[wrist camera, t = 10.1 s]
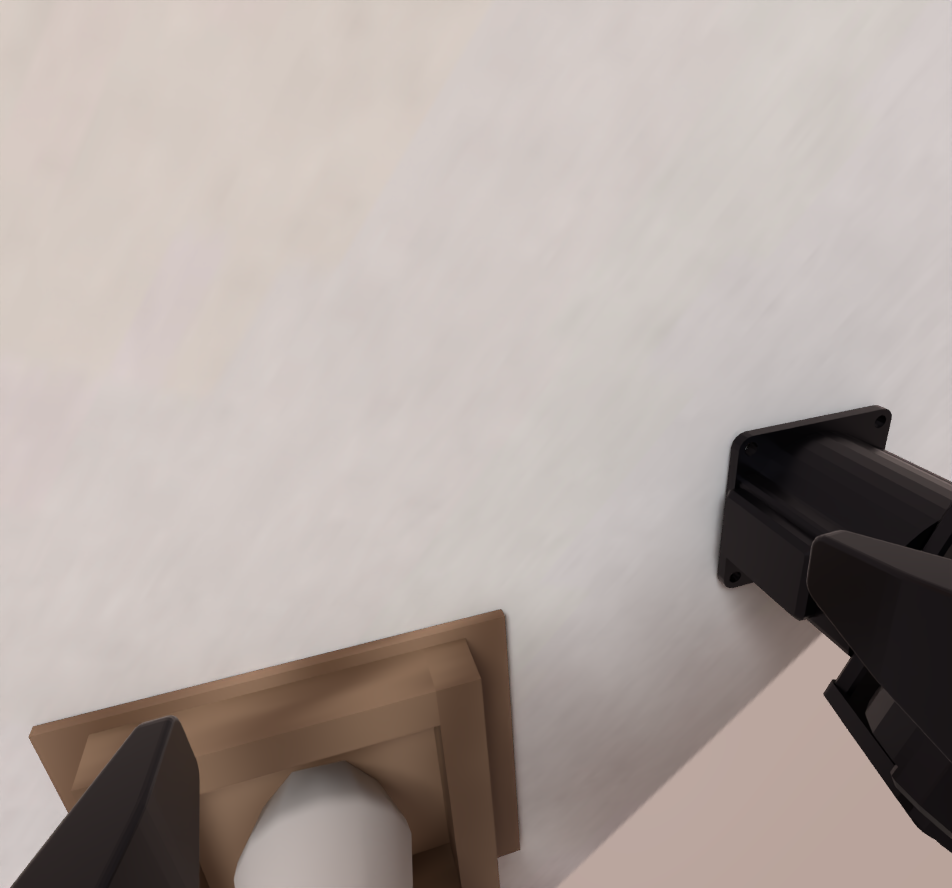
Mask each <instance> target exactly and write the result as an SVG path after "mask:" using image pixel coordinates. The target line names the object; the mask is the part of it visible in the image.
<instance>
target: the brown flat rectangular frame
mask: <svg viewBox="0 0 952 888" xmlns="http://www.w3.org/2000/svg"><path fill="white" fill-rule="evenodd" d="M168 715H172V716H176V717H177V718H178V719H179V721H180V722H181V724H182V727H183V729H184V731H185V734H186V736H187V738H188V741H189V743H190V745H191V748H192V750H193V753H194V755H195V757H196V760H197V763H198V768H199V776H200V819H199V888H235V885H234V876H235V872H236V867H237V863H238V860H239V858H240V856H241V854H242V852H243V850H244V848H245V845H246V843H247V841H248V839H249V837H250V835H251V833H252V831H253V828H254V826H255V824H256V822H257V820H258V818H259V816H260V813H261V811H262V809H263V807H264V806H265V805H266V804H267V802H268V801H269V800H270V799H271V797H272V796H273V795H274V794H275V792H276V791H277V790H278V789H279V788H280V786H281V785H282V784H283V783H284V781H285V780H286V779H287V778H288V776H289V775H290V774H291V773H292V772H294V771H299V770H303V769H308V768H312V767H317V766H321V765H326V764H330V763H335V762H339V761H344V760H345V761H346V762H348V763H349V764H351V765H353V766H354V767H356V768H358V769H359V770H361V771H363V772H364V773H366V774H368V775H369V776H371V777H372V778H374V779H376V780H377V781H378V782H379V783H380V785H381V786H382V787H383V789H384V790H385V791H386V793H387V794H388V796H389V797H390V798H391V800H392V801H393V802H394V804H395V805H396V806H397V808H398V809H399V810H400V812H401V813H402V815H403V816H404V817H405V819H406V820H407V823H408V826H409V828H410V831H411V838H412V874H413V888H500V883H499V872H498V861H497V858H498V857H501V856H504V855H507V854H509V853H512V852H515V851H518V850H520V842H519V826H518V811H517V796H516V780H515V765H514V749H513V734H512V719H511V703H510V688H509V673H508V657H507V642H506V627H505V616H504V614H503V612H502V610H501V609H500V610H496V611H492V612H488V613H484V614H480V615H476V616H472V617H468V618H464V619H460V620H456V621H452V622H448V623H444V624H440V625H436V626H432V627H428V628H424V629H420V630H416V631H412V632H408V633H404V634H400V635H396V636H392V637H388V638H384V639H380V640H376V641H372V642H368V643H364V644H360V645H356V646H352V647H348V648H345V649H341V650H337V651H333V652H329V653H325V654H321V655H317V656H313V657H309V658H305V659H301V660H297V661H293V662H289V663H285V664H281V665H277V666H273V667H269V668H265V669H261V670H257V671H253V672H249V673H245V674H241V675H237V676H233V677H229V678H225V679H221V680H217V681H213V682H209V683H205V684H201V685H197V686H193V687H189V688H185V689H181V690H177V691H173V692H169V693H165V694H161V695H157V696H153V697H149V698H145V699H141V700H137V701H133V702H129V703H125V704H121V705H117V706H113V707H109V708H105V709H101V710H97V711H93V712H89V713H85V714H81V715H77V716H73V717H69V718H65V719H61V720H57V721H53V722H49V723H45V724H41V725H37V726H33V728H32V730H31V732H30V735H29V739H30V741H31V743H32V745H33V747H34V748H35V750H36V752H37V754H38V756H39V758H40V760H41V762H42V764H43V766H44V768H45V769H46V771H47V773H48V775H49V777H50V779H51V781H52V783H53V785H54V787H55V789H56V790H57V792H58V794H59V796H60V798H61V800H62V802H63V804H64V806H65V808H66V810H67V812H68V813H69V812H70V810H71V809H72V808H73V807H74V805H75V804H76V803H77V802H78V800H79V799H80V798H81V796H82V795H83V794H84V793H85V791H86V790H87V789H88V787H89V786H90V785H91V784H92V782H93V781H94V780H95V779H96V777H97V776H98V775H99V773H100V772H101V771H102V770H103V768H104V767H105V766H106V764H107V763H108V762H109V761H110V759H111V758H112V757H113V756H114V754H115V753H116V752H117V750H118V749H119V748H120V747H121V745H122V744H123V743H124V741H125V740H126V739H127V738H128V736H129V735H130V734H131V732H132V731H133V730H134V729H135V728H136V727H137V726H138V725H139V724H141V723H143V722H147V721H150V720H154V719H158V718H161V717H165V716H168Z"/></svg>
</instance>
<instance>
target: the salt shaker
mask: <svg viewBox="0 0 952 888" xmlns="http://www.w3.org/2000/svg"><path fill="white" fill-rule="evenodd" d="M234 885H235V888H413V874H412V838H411V831H410V828H409V826H408V823H407V820H406V819H405V817H404V816H403V815H402V813H401V812H400V810H399V809H398V808H397V806H396V805H395V804H394V802H393V801H392V800H391V798H390V797H389V796H388V794H387V793H386V791H385V790H384V789H383V787H382V786H381V785H380V783H379V782H378V781H377V780H376V779H374V778H372V777H371V776H369V775H368V774H366V773H364V772H363V771H361V770H359V769H358V768H356V767H354V766H353V765H351V764H349V763H348V762H346V761H345V760H344V761H339V762H335V763H330V764H326V765H321V766H317V767H312V768H308V769H303V770H299V771H294V772H292V773H291V774H290V775H289V776H288V778H287V779H286V780H285V781H284V783H283V784H282V785H281V786H280V788H279V789H278V790H277V791H276V792H275V794H274V795H273V796H272V797H271V799H270V800H269V801H268V802H267V804H266V805H265V806H264V807H263V809H262V811H261V813H260V816H259V818H258V820H257V822H256V824H255V826H254V828H253V831H252V833H251V835H250V837H249V839H248V841H247V843H246V845H245V848H244V850H243V852H242V854H241V856H240V858H239V860H238V863H237V867H236V872H235V876H234Z"/></svg>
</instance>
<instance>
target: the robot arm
mask: <svg viewBox="0 0 952 888" xmlns="http://www.w3.org/2000/svg"><path fill="white" fill-rule="evenodd" d="M891 416H892V415H891V412H890V411H889V410H888V409H886V408H883V407H881V406H878V405H873V406H868V407H863V408H858V409H853V410H849V411H844V412H839V413H834V414H829V415H824V416H819V417H814V418H809V419H804V420H799V421H795V422H790V423H785V424H780V425H775V426H770V427H765V428H760V429H755V430H750V431H746V432H743V433H741V434H739V435H738V436H737V437H736V438H735V440H734V441H733V444H732V448H731V457H730V466H729V475H728V484H727V493H726V502H725V511H724V520H723V529H722V538H721V547H720V556H719V565H718V574H717V575H718V579H719V580H720V581H721V582H722V583H723V584H724V585H725V586H726V587H729V588H734V587H738V586H742V585H745V584H749V583H753V582H754V583H755V584H757V585H758V586H759V587H760V588H761V589H762V590H763V591H765V592H766V593H767V594H768V595H769V596H770V597H771V598H772V599H774V600H775V601H776V602H777V603H778V604H779V605H780V606H781V607H783V608H784V609H785V610H786V611H787V612H788V613H789V614H791V615H792V616H793V617H794V618H796V619H797V620H799V621H801V620H805V619H807V620H808V621H810V622H811V623H812V624H813V625H814V626H815V627H816V628H818V629H819V630H820V631H821V632H822V633H823V634H825V635H826V636H827V637H828V638H829V639H830V640H831V641H833V642H834V643H835V644H836V645H837V646H838V647H840V648H841V649H842V650H843V651H844V652H845V653H846V654H848V655H849V656H850V657H851V658H850V659H849V661H848V662H847V664H846V666H845V667H844V669H843V670H842V672H841V673H840V675H839V676H838V678H837V679H836V680H832V681H831V682H830V684H829V686H828V687H827V689H826V690H825V692H824V696H825V698H826V699H827V700H828V702H829V703H830V705H831V706H832V707H833V709H834V710H835V712H836V713H837V714H838V716H839V717H840V719H841V721H842V722H843V723H844V725H845V726H846V728H847V729H848V731H849V732H850V733H851V735H852V736H853V737H854V739H855V740H856V742H857V743H858V745H859V746H860V747H861V749H862V750H863V752H864V753H865V754H866V756H867V757H868V759H869V760H870V762H871V763H872V764H873V766H874V767H875V769H876V770H877V771H878V773H879V774H880V776H881V777H882V778H883V780H884V781H885V783H886V784H887V786H888V787H889V789H890V790H891V791H892V793H893V794H894V796H895V797H896V798H897V800H898V801H899V802H900V804H901V805H902V807H903V808H904V809H905V811H906V812H907V814H908V815H909V817H910V818H911V819H912V821H913V822H914V824H915V825H916V826H917V827H918V828H919V829H920V830H922V832H924V833H925V834H927V835H928V836H930V837H931V838H933V839H935V840H936V841H937V842H938V843H940V844H941V845H942V846H943V847H945V848H946V849H947V850H949V851H950V852H951V853H952V482H951V481H949V480H947V479H945V478H942V477H940V476H938V475H936V474H934V473H932V472H930V471H928V470H926V469H924V468H922V467H920V466H917V465H915V464H913V463H911V462H909V461H907V460H905V459H903V458H901V457H899V456H897V455H895V454H892V453H890V452H888V451H886V450H885V445H886V441H887V436H888V432H889V427H890V423H891ZM749 443H750V445H749V447H748V448H747V449H746V450H745V448H746V446H747V445H748V444H749ZM731 574H732V575H731ZM199 819H200V776H199V768H198V763H197V760H196V757H195V755H194V753H193V750H192V748H191V745H190V743H189V741H188V738H187V736H186V734H185V731H184V729H183V727H182V724H181V722H180V721H179V719H178V718H177V717H176V716H172V715H168V716H165V717H161V718H158V719H154V720H150V721H147V722H143V723H141V724H139V725H138V726H137V727H136V728H135V729H134V730H133V731H132V732H131V734H130V735H129V736H128V738H127V739H126V740H125V741H124V743H123V744H122V745H121V747H120V748H119V749H118V750H117V752H116V753H115V754H114V756H113V757H112V758H111V759H110V761H109V762H108V763H107V764H106V766H105V767H104V768H103V770H102V771H101V772H100V773H99V775H98V776H97V777H96V779H95V780H94V781H93V782H92V784H91V785H90V786H89V787H88V789H87V790H86V791H85V793H84V794H83V795H82V796H81V798H80V799H79V800H78V802H77V803H76V804H75V805H74V807H73V808H72V809H71V810H70V812H69V813H68V814H67V816H66V817H65V818H64V819H63V821H62V822H61V823H60V825H59V826H58V827H57V828H56V830H55V831H54V832H53V834H52V835H51V836H50V837H49V839H48V840H47V841H46V842H45V844H44V845H43V846H42V848H41V849H40V850H39V851H38V853H37V854H36V855H35V857H34V858H33V859H32V860H31V862H30V863H29V864H28V865H27V867H26V868H25V869H24V871H23V872H22V873H21V874H20V876H19V877H18V878H17V880H16V881H15V882H14V883H13V885H12V886H11V887H10V888H199Z"/></svg>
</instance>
